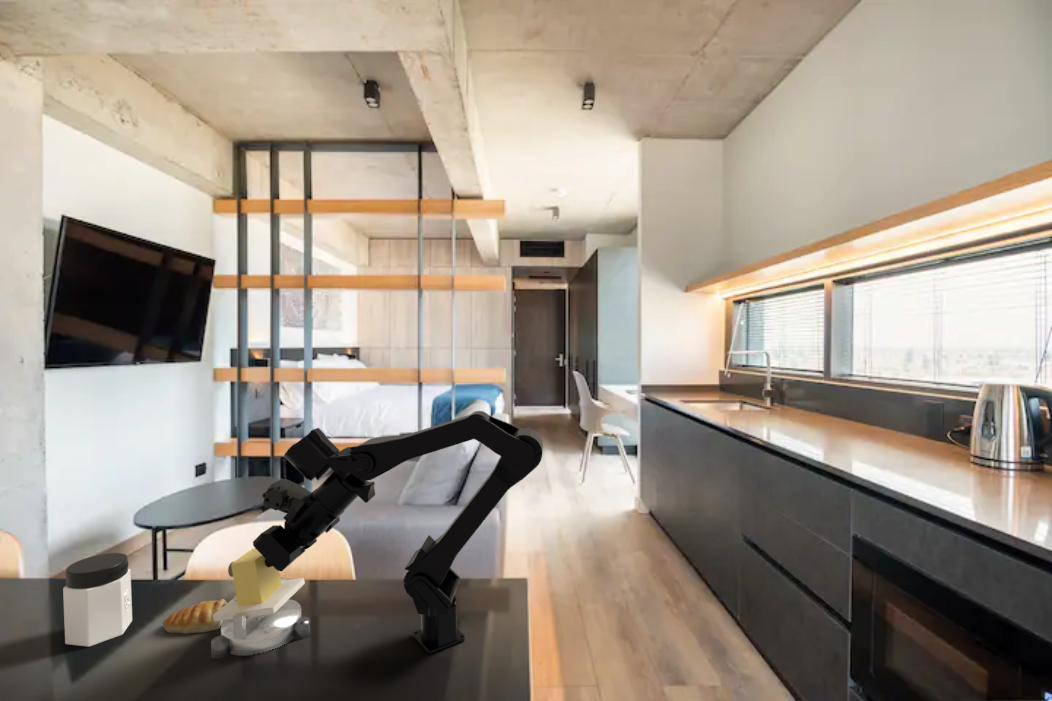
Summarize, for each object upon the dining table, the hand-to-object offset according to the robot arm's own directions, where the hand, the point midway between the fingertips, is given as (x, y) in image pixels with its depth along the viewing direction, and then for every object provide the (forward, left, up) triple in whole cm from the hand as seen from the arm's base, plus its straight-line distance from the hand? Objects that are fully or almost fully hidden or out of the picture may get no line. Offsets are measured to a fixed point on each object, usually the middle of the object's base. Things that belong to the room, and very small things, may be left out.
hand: (267, 564), depth 88 cm
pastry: (+10, +9, -12) cm, 18 cm away
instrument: (+1, +1, -6) cm, 6 cm away
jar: (+18, +23, -12) cm, 31 cm away
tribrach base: (+1, +1, -12) cm, 12 cm away
